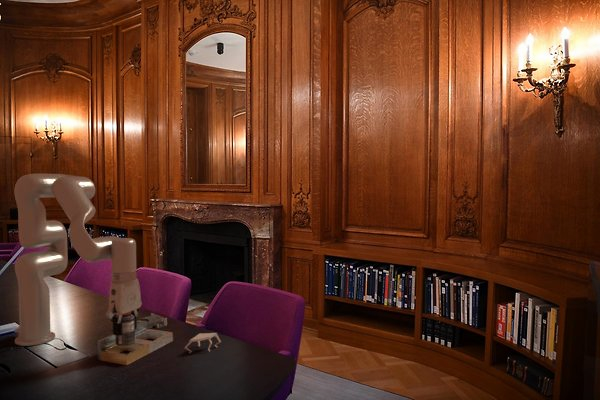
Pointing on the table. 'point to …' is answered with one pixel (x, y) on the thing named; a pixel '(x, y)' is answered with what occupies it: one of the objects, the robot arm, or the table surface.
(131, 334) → the pill bottle
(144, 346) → the two-compartment cubby organizer
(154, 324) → the graphics card
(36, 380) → the table surface
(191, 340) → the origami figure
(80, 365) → the table surface
